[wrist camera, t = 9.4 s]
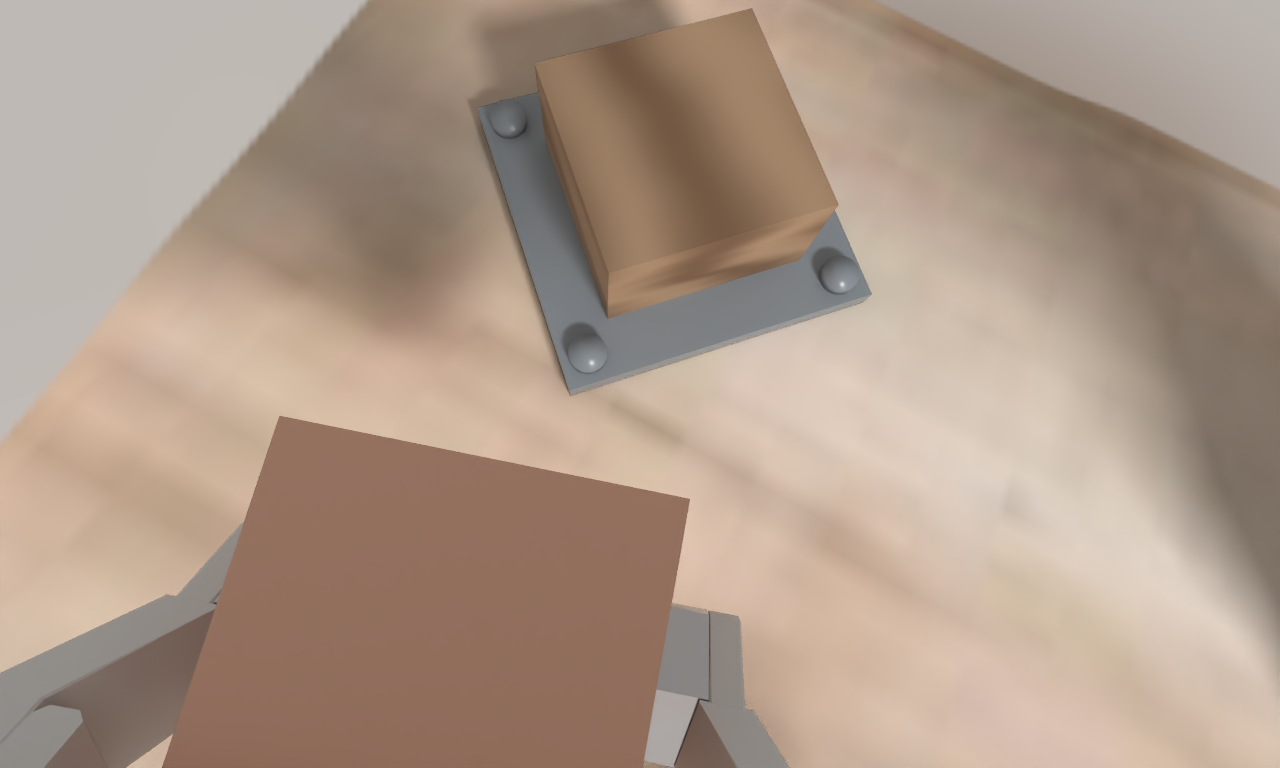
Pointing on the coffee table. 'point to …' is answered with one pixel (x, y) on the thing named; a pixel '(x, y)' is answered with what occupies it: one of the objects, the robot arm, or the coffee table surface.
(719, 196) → the walnut base brick
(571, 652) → the terracotta block
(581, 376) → the baseplate
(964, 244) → the coffee table surface
